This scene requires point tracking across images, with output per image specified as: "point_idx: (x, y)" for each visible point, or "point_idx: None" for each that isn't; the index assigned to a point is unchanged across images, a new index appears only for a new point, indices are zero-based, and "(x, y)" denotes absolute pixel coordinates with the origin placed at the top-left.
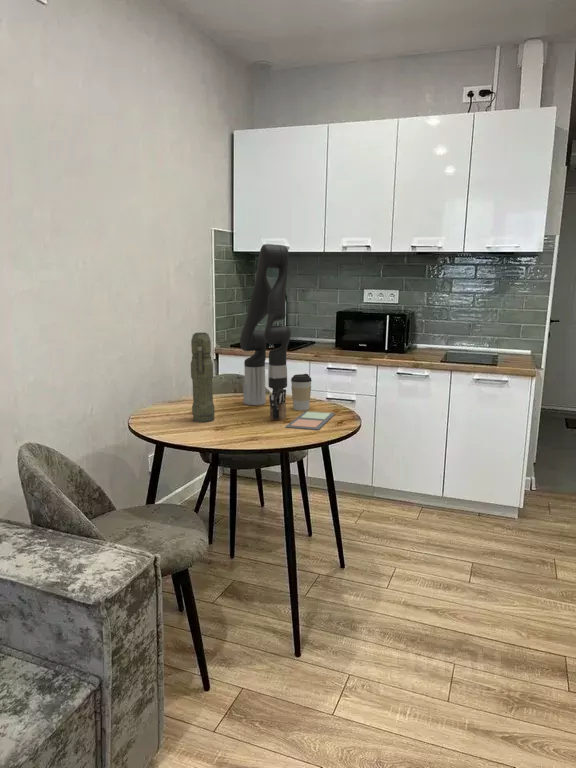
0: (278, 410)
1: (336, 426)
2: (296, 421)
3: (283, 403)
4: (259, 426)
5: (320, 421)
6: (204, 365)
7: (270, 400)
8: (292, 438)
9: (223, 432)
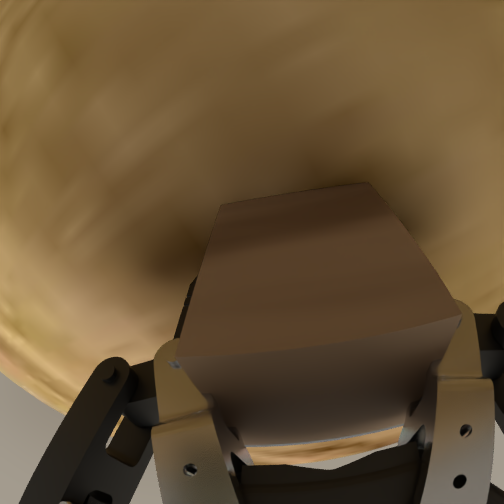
0: None
1: (270, 454)
2: None
3: (378, 422)
4: (17, 251)
5: None
6: None
7: (46, 469)
8: (61, 399)
9: None
